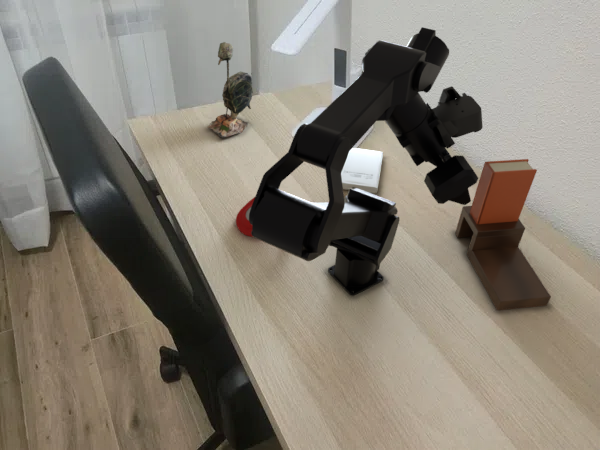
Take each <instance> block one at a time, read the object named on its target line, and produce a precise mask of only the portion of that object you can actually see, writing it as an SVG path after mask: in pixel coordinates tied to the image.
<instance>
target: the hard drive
mask: <svg viewBox="0 0 600 450" xmlns="http://www.w3.org/2000/svg"><path fill="white" fill-rule="evenodd" d="M383 157H384V152H383V151H381V150H373V149H366V148H359V147H353V148H352V149H351V150H350V151H349V153H348V156H347V159H346V162H345V164H344V167H343V169H342V172H341V177H342V185H343V190H345V191H348V190H349V188H350V189H353V190H354V189H355V188H358V189H360V190H363V191H366V192H369V193H371V194H374V195H375V194H377V193H378V189H379V183H380V177H381V176H380V175H381V170H382V164H383Z"/></svg>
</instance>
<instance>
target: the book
mask: <svg viewBox="0 0 600 450" xmlns="http://www.w3.org/2000/svg"><path fill="white" fill-rule="evenodd" d="M537 171H538V169H537V168H533V167H532V166H531V164H530V163H529V159H528V158H522V159H505V160H492V161H491V160H489V161H484V165H483V167H482V170H481V173H480V177H479V179H478V182H477V183H478V184H477V187H476V190H475V193H474V196H473V200H472V203H471V206H472V207H471V210H470V214H471V215H472V217H473V219H474V220H475V222H476V224H488V223H501V222H514V221H518V219H519V220H520V216H521V213H522V211H523V208H524V206H525V203H526V201H527V198H528V196H529V193H530V190H531V187H532V185H533V182H534V179H535V177H536V174H537Z"/></svg>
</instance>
